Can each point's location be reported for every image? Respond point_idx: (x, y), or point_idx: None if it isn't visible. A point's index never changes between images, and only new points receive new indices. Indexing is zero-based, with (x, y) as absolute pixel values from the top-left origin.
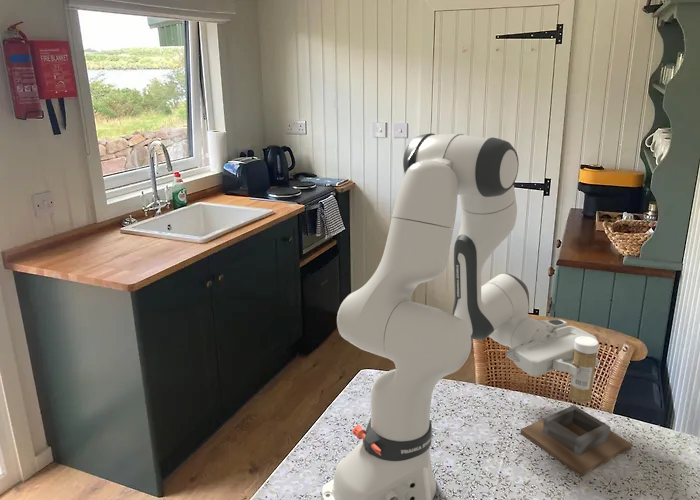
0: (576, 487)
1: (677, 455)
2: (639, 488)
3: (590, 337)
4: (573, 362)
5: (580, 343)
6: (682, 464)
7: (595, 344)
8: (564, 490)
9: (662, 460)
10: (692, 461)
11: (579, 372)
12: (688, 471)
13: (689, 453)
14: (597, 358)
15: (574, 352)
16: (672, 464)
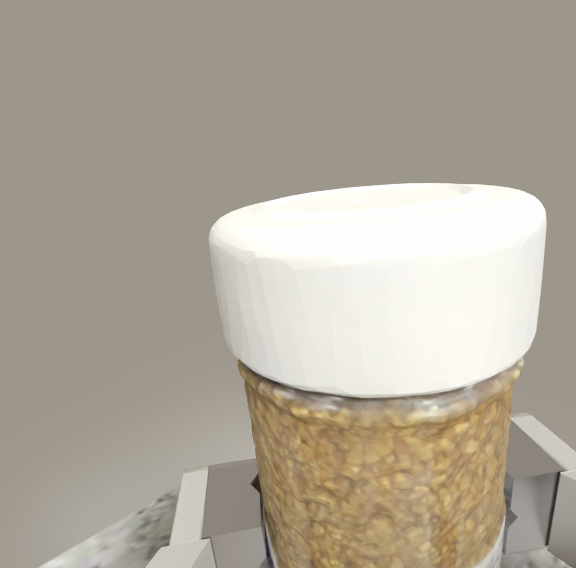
0: (501, 562)
1: (107, 564)
2: None
3: (233, 221)
4: (504, 509)
5: (490, 186)
6: (142, 530)
7: (327, 190)
8: (549, 565)
9: None
10: (109, 530)
11: None
12: (161, 506)
13: (72, 558)
14: (188, 471)
15: (507, 420)
16: (163, 539)
